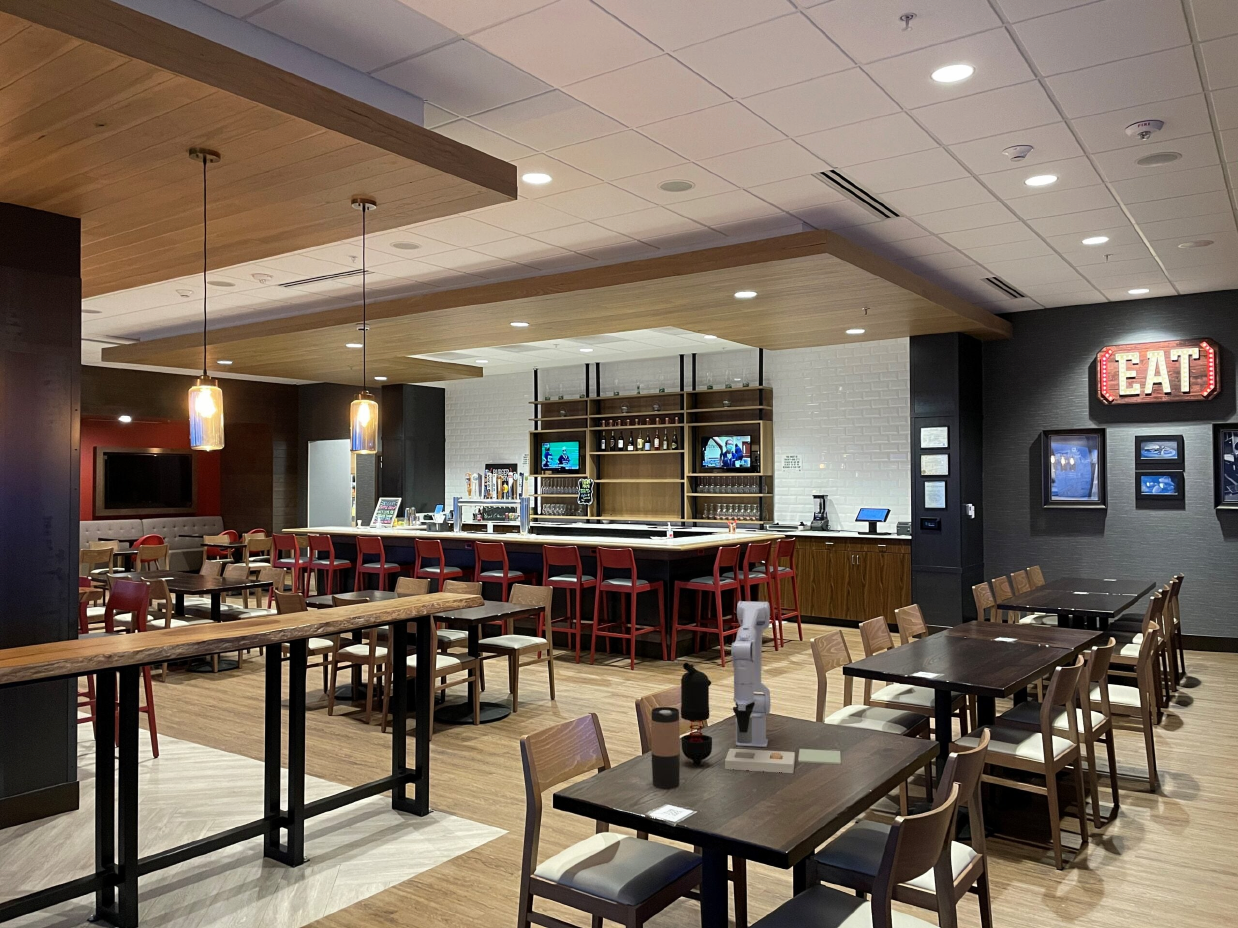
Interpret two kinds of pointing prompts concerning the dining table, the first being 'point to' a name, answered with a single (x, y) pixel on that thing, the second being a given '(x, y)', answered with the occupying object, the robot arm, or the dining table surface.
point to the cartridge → (745, 736)
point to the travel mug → (665, 747)
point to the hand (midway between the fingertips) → (744, 729)
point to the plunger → (775, 756)
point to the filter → (695, 713)
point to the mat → (819, 756)
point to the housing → (759, 761)
